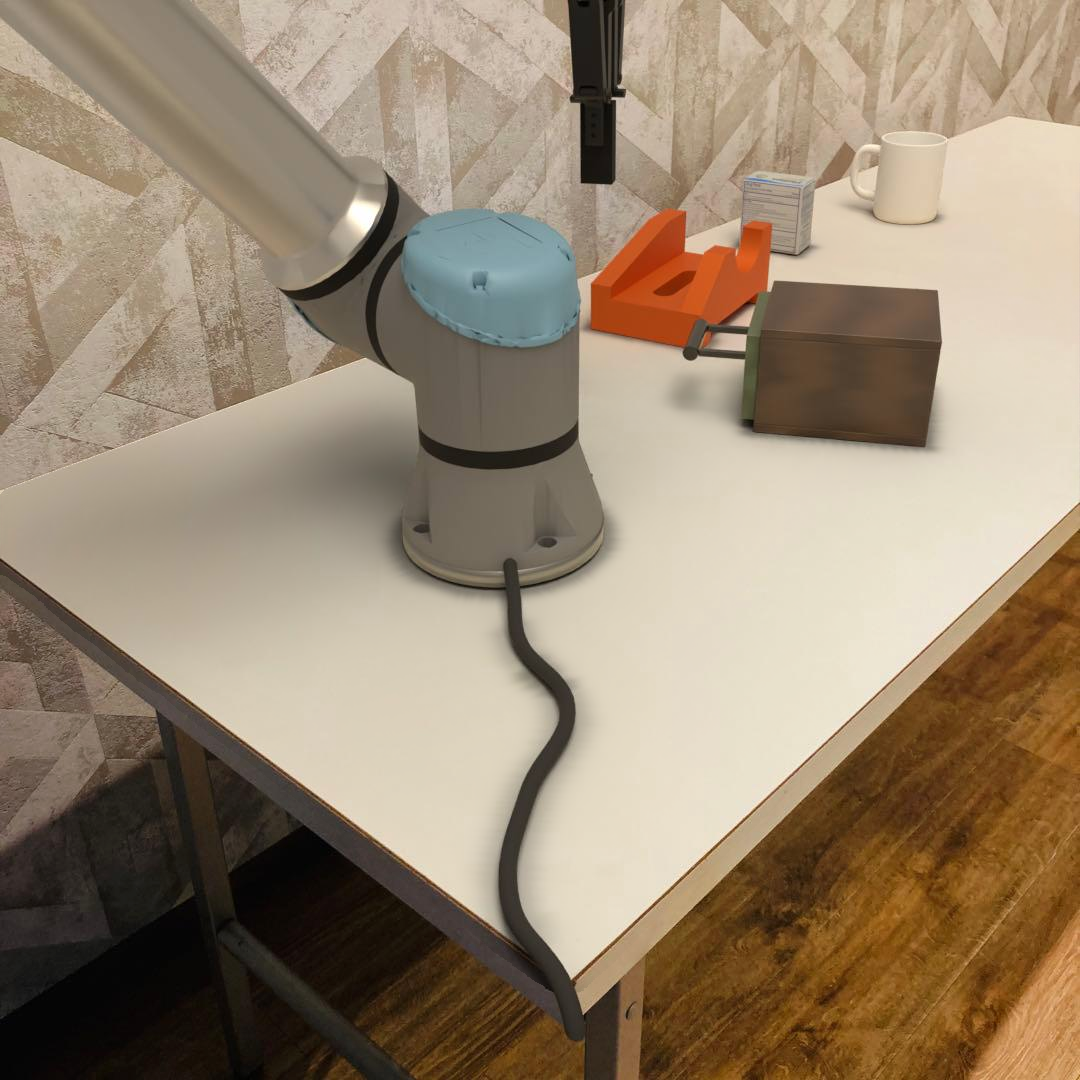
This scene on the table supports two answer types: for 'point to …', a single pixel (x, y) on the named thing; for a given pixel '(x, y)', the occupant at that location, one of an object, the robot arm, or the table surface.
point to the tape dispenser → (677, 281)
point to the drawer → (749, 355)
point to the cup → (904, 176)
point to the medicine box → (780, 208)
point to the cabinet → (848, 362)
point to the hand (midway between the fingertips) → (598, 181)
